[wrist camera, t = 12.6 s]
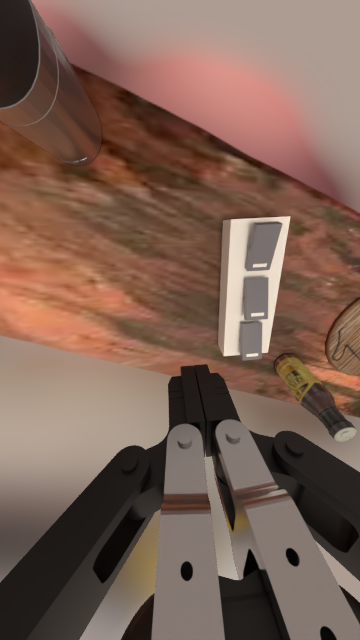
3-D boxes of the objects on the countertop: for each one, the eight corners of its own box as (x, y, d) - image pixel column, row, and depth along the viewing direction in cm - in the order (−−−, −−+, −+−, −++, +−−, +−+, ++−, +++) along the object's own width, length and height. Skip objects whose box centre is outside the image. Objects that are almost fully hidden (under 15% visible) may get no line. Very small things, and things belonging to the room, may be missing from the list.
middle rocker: (242, 279, 37) (246, 278, 36) (263, 277, 38) (268, 277, 36) (243, 319, 39) (247, 320, 37) (263, 317, 39) (268, 319, 37)
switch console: (222, 220, 37) (231, 219, 33) (276, 217, 38) (292, 216, 33) (218, 344, 49) (223, 356, 44) (259, 340, 49) (269, 352, 45)
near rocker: (252, 221, 32) (257, 225, 30) (277, 220, 32) (282, 223, 30) (243, 266, 36) (247, 271, 35) (265, 265, 37) (269, 270, 35)
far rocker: (239, 322, 41) (242, 324, 39) (258, 320, 41) (262, 322, 39) (239, 357, 43) (242, 360, 41) (257, 355, 43) (261, 358, 41)
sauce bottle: (277, 351, 51) (339, 419, 33) (299, 353, 52) (372, 420, 34) (269, 372, 54) (322, 445, 36) (291, 373, 54) (353, 445, 36)
